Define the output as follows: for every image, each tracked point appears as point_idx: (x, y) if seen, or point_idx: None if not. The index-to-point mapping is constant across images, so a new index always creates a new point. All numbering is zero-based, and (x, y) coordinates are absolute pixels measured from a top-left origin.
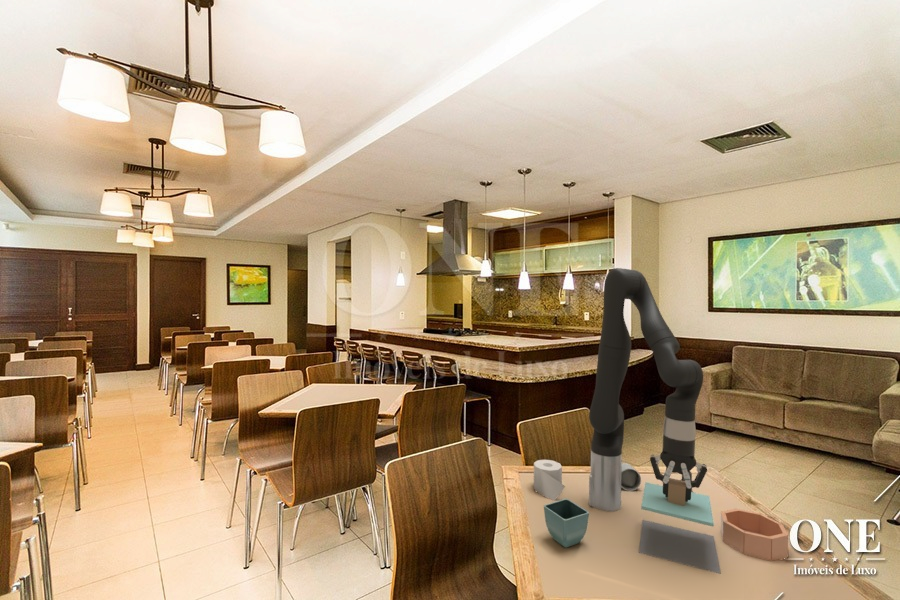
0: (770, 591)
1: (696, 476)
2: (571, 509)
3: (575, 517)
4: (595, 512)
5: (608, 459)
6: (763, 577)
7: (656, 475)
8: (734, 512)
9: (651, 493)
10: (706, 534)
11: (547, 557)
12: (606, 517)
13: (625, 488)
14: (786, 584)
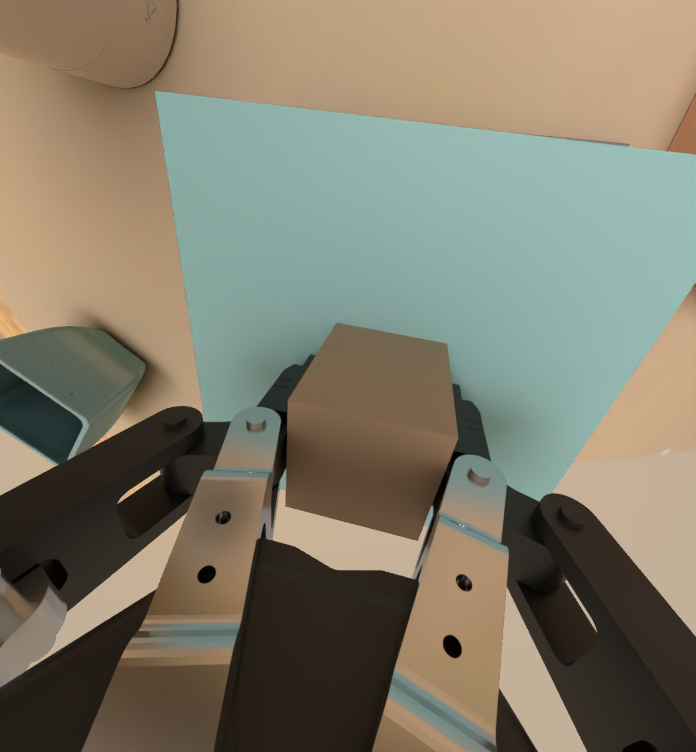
0: (623, 454)
1: (588, 610)
2: (36, 356)
3: (75, 454)
4: (102, 115)
5: None
6: (657, 400)
7: (166, 496)
8: None
9: (234, 324)
10: (591, 141)
11: (121, 427)
12: (153, 148)
13: None
14: None
